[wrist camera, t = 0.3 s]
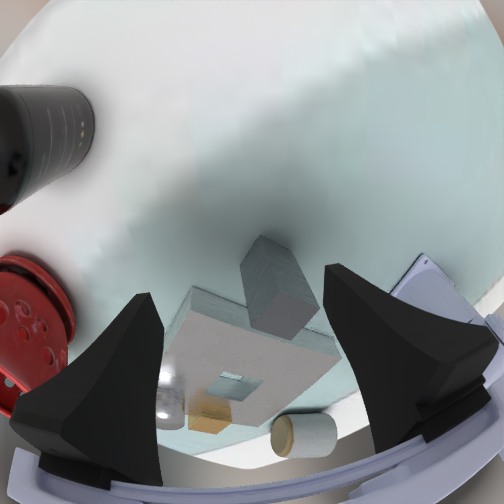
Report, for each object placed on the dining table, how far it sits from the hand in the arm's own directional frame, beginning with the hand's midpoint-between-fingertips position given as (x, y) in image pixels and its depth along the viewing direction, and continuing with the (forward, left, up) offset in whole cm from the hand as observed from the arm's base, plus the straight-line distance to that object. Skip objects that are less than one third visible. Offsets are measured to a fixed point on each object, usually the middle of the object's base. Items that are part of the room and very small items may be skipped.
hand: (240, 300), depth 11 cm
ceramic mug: (-25, +25, -10) cm, 37 cm away
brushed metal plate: (-8, +15, -10) cm, 20 cm away
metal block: (-4, +2, -10) cm, 11 cm away
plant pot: (+14, +17, -10) cm, 24 cm away
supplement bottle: (+15, 0, -10) cm, 18 cm away
